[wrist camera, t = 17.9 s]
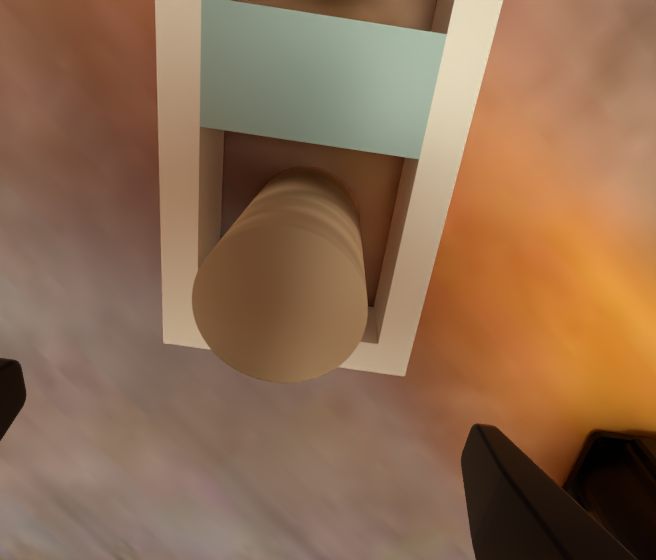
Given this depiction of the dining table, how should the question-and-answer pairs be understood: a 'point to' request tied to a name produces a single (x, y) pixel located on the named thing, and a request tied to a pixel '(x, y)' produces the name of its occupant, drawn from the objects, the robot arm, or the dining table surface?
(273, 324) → the wooden peg
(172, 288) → the housing
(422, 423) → the dining table surface
